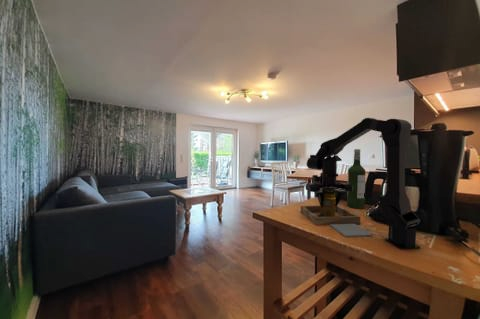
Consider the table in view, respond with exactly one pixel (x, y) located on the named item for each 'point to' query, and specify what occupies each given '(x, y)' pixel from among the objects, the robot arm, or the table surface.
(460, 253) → the table surface
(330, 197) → the condiment
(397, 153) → the robot arm
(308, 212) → the wooden tray
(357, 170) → the wine bottle
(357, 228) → the rubber mat
